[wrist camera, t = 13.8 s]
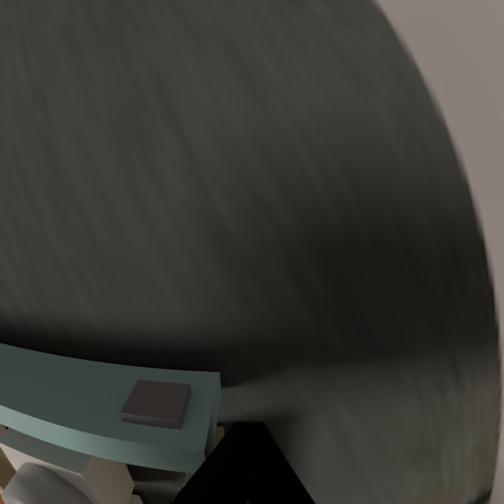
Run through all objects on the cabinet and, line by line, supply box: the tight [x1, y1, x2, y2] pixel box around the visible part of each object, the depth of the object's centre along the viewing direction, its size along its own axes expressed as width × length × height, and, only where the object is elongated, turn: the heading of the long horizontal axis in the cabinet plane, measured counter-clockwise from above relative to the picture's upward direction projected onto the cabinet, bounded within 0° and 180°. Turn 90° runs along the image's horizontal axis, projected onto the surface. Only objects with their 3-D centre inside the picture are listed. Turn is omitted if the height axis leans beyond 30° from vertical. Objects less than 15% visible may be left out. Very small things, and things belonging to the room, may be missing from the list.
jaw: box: [0, 427, 135, 504], centre depth 9 cm, size 4×4×5 cm
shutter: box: [0, 343, 222, 473], centre depth 8 cm, size 1×14×4 cm, turn 90°
